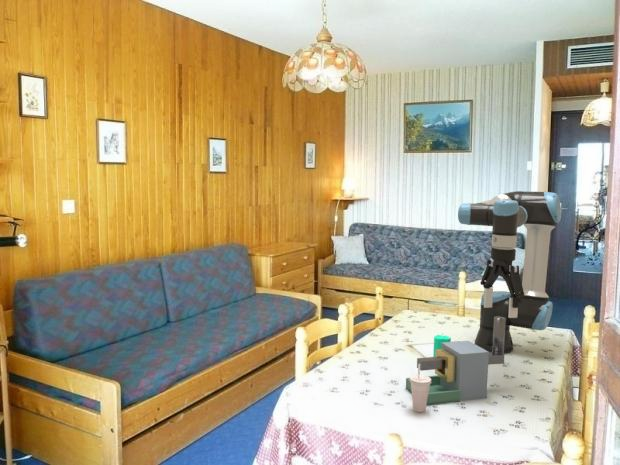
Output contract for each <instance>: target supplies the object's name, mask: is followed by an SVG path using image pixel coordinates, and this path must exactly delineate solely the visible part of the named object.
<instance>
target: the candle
mask: <svg viewBox="0 0 620 465" xmlns="http://www.w3.org/2000/svg"><path fill="white" fill-rule="evenodd" d="M443 334H444V333H443V332H442V334H441V335H440V334H437V335H435V336H434V337H433V353H432V354H433V355H432V357H435V356H436V349H441V345H442V343H443V342H452V341H451V340H452V339H451V338H452V337H449V336H448V335H443Z"/></svg>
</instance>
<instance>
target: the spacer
mask: <svg viewBox="0 0 620 465" xmlns="http://www.w3.org/2000/svg"><path fill="white" fill-rule="evenodd" d="M435 357H441V358H442V359H444V360H445V361H446V362H445V370H444V369H434V374H435V375H438V376H439V377H441V378H442V379H443V380H445V381H446V382H454V375H455V356H453V355H451V354H450V353H448V352H447V351H445V350H443V349H436V356H435Z"/></svg>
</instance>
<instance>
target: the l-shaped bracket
mask: <svg viewBox="0 0 620 465" xmlns="http://www.w3.org/2000/svg"><path fill="white" fill-rule="evenodd" d="M505 321H506V318H504V317H499V316H496V317H494V328H493V347H492V352H489V361H488V366H489V365H501V364H505V354H506V353H504V339H505ZM445 362H446V361H445V360H444V359H442V358H441V357H433V356H429V357H417V358H416V368H417V369H418V364H420V372H422V371H432V370H434V371H435V369H445Z"/></svg>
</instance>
